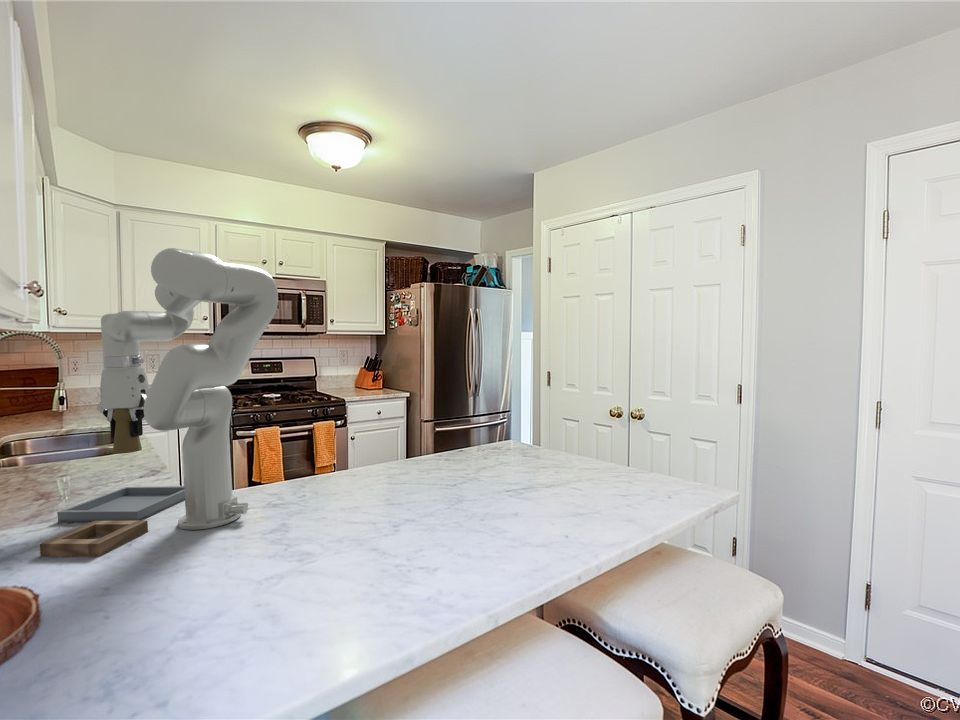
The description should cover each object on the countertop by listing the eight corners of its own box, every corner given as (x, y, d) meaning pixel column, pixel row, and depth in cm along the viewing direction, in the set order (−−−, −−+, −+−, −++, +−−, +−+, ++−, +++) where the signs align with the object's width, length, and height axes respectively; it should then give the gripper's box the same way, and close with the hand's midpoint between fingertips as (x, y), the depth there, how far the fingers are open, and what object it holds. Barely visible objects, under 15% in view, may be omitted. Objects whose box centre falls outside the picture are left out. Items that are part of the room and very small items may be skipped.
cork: (126, 454, 121) (124, 408, 121) (106, 453, 122) (103, 409, 122) (148, 448, 127) (145, 405, 127) (128, 448, 128) (125, 405, 128)
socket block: (148, 531, 108) (147, 520, 108) (99, 556, 96) (98, 543, 96) (95, 531, 109) (94, 520, 109) (40, 556, 97) (39, 543, 97)
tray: (195, 495, 134) (194, 486, 134) (137, 522, 115) (137, 511, 114) (126, 495, 136) (125, 486, 136) (58, 522, 116) (57, 511, 116)
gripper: (165, 361, 127) (169, 432, 128) (103, 363, 129) (108, 434, 129) (142, 363, 120) (147, 438, 120) (77, 365, 121) (82, 440, 122)
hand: (127, 435), depth 125 cm, fingers closed on cork, 4 cm apart
